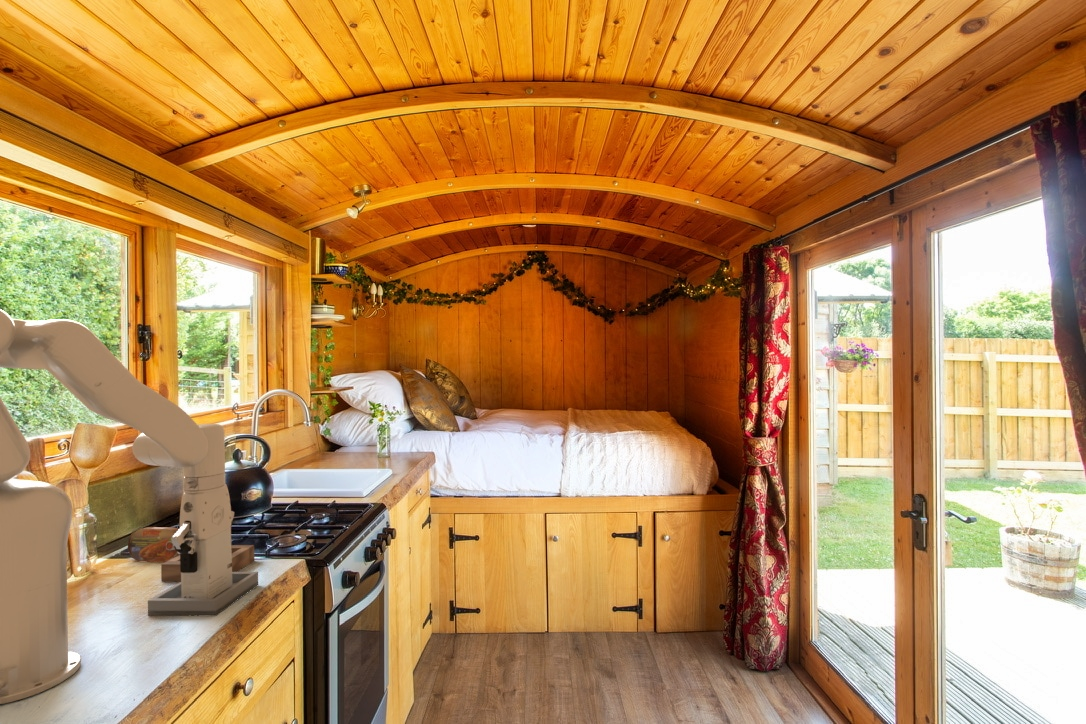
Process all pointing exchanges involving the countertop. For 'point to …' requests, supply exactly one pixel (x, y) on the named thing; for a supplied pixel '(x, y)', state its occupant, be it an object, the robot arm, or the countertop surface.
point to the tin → (152, 544)
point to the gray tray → (177, 606)
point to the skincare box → (210, 568)
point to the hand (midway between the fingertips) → (205, 562)
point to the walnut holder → (240, 559)
